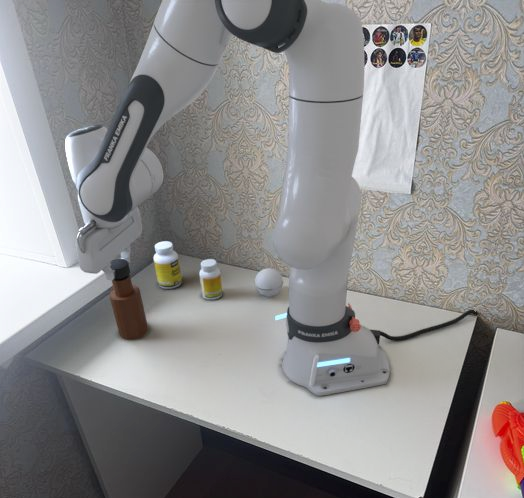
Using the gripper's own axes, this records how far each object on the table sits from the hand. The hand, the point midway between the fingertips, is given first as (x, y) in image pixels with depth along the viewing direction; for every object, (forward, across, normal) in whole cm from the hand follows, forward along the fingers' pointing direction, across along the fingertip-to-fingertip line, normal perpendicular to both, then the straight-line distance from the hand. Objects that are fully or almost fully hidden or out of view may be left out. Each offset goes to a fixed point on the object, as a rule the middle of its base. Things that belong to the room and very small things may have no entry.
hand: (119, 271), depth 110 cm
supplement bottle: (+16, +20, -13) cm, 29 cm away
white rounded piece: (+16, +23, -28) cm, 40 cm away
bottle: (+16, 0, 0) cm, 16 cm away
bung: (+2, 0, 0) cm, 2 cm away
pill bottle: (+16, +23, +1) cm, 28 cm away
